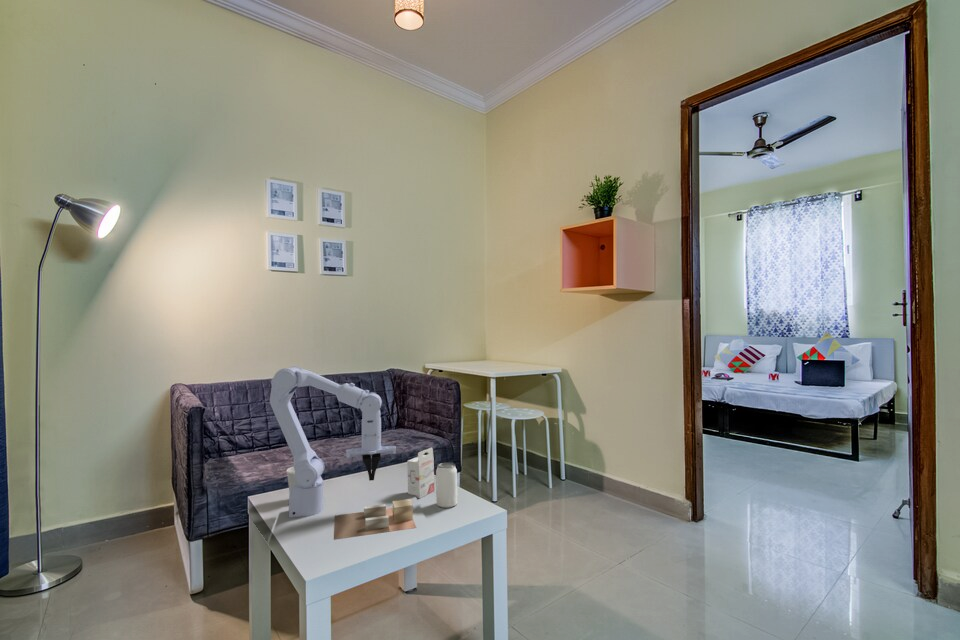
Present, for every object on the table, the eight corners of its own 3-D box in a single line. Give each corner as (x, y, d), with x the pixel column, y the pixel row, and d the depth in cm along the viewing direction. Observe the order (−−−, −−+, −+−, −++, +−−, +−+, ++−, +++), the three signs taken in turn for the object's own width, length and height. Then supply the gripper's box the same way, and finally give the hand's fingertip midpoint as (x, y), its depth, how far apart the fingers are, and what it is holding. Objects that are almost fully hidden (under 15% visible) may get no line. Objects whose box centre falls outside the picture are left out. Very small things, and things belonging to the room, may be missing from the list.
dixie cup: (300, 506, 139) (300, 473, 139) (280, 502, 142) (280, 470, 142) (319, 496, 146) (319, 466, 147) (300, 493, 149) (300, 463, 150)
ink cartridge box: (422, 488, 153) (422, 445, 153) (434, 490, 150) (434, 446, 151) (407, 496, 145) (406, 451, 146) (419, 499, 143) (418, 452, 143)
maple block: (394, 522, 123) (394, 507, 123) (392, 515, 128) (392, 501, 128) (412, 519, 124) (412, 505, 124) (410, 513, 129) (409, 499, 129)
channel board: (333, 543, 113) (333, 529, 113) (334, 519, 128) (334, 506, 128) (416, 531, 119) (416, 518, 119) (408, 509, 134) (407, 497, 134)
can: (461, 503, 138) (461, 464, 138) (446, 510, 133) (445, 469, 134) (447, 498, 142) (446, 461, 143) (432, 504, 138) (431, 465, 138)
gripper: (346, 438, 129) (346, 486, 128) (396, 435, 133) (397, 481, 132) (346, 433, 136) (346, 478, 135) (394, 430, 140) (394, 474, 139)
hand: (371, 479), depth 134 cm, fingers closed
